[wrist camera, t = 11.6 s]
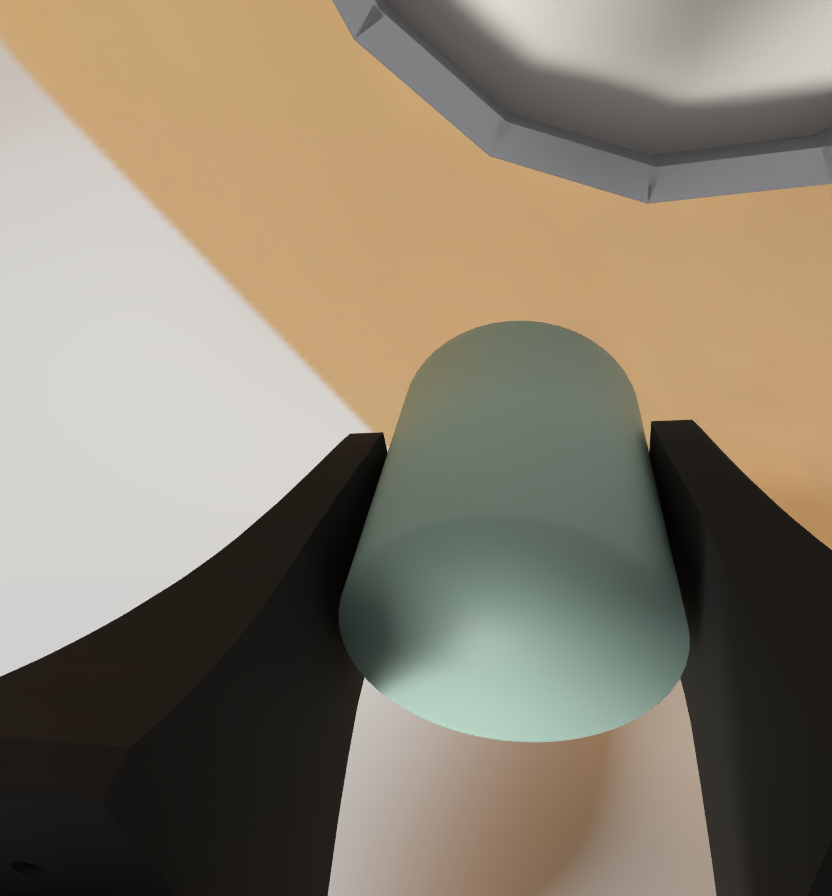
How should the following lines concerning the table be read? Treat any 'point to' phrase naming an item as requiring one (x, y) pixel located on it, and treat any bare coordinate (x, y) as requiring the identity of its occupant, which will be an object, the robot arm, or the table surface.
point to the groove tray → (623, 86)
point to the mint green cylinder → (517, 546)
